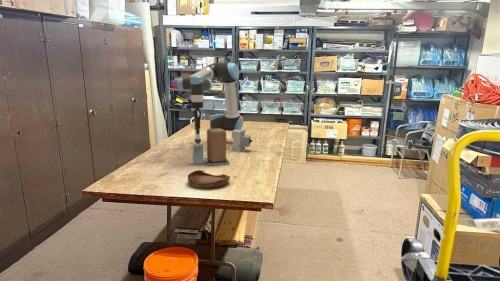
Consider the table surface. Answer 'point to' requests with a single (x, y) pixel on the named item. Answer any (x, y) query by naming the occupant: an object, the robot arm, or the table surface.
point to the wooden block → (216, 145)
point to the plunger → (197, 142)
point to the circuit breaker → (240, 140)
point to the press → (199, 158)
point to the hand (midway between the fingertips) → (197, 138)
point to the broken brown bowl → (206, 179)
